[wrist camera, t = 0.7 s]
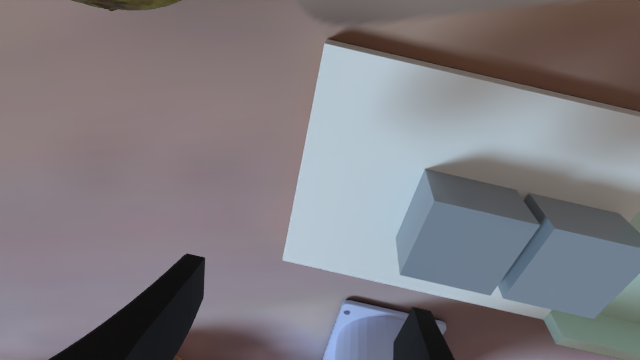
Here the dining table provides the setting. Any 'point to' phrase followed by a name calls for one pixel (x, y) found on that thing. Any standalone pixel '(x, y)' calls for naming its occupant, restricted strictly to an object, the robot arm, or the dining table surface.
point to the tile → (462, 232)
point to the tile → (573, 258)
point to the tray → (604, 324)
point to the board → (442, 157)
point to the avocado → (128, 4)
